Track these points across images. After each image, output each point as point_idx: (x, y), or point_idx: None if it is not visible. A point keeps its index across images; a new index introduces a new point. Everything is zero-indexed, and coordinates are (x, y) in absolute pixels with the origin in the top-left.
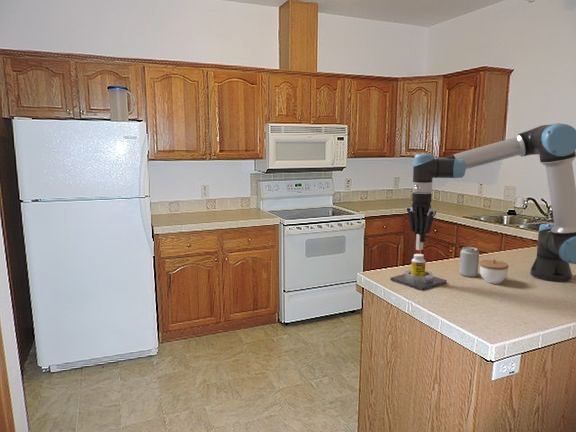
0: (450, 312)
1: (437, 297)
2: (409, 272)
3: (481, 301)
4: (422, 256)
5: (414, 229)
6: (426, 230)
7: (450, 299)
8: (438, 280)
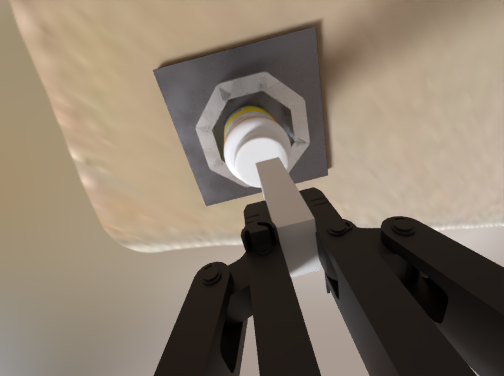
0: (457, 196)
1: (384, 163)
2: (219, 151)
3: (491, 62)
4: (287, 158)
5: (249, 314)
6: (440, 296)
7: (416, 141)
8: (301, 67)
